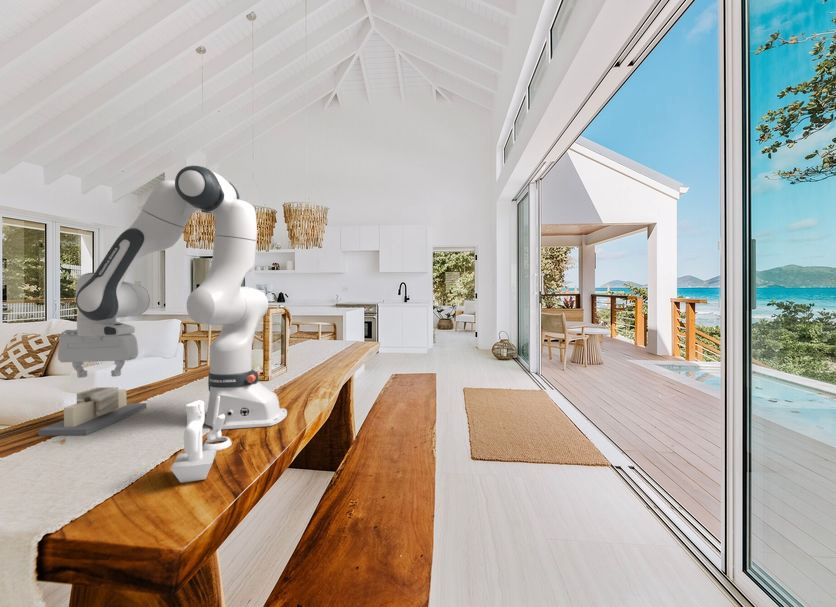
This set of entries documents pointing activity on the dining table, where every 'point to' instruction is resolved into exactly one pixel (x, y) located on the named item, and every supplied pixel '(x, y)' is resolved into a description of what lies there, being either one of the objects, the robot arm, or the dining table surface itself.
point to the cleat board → (92, 422)
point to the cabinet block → (101, 399)
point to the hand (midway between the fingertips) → (99, 376)
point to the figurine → (193, 448)
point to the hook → (216, 436)
